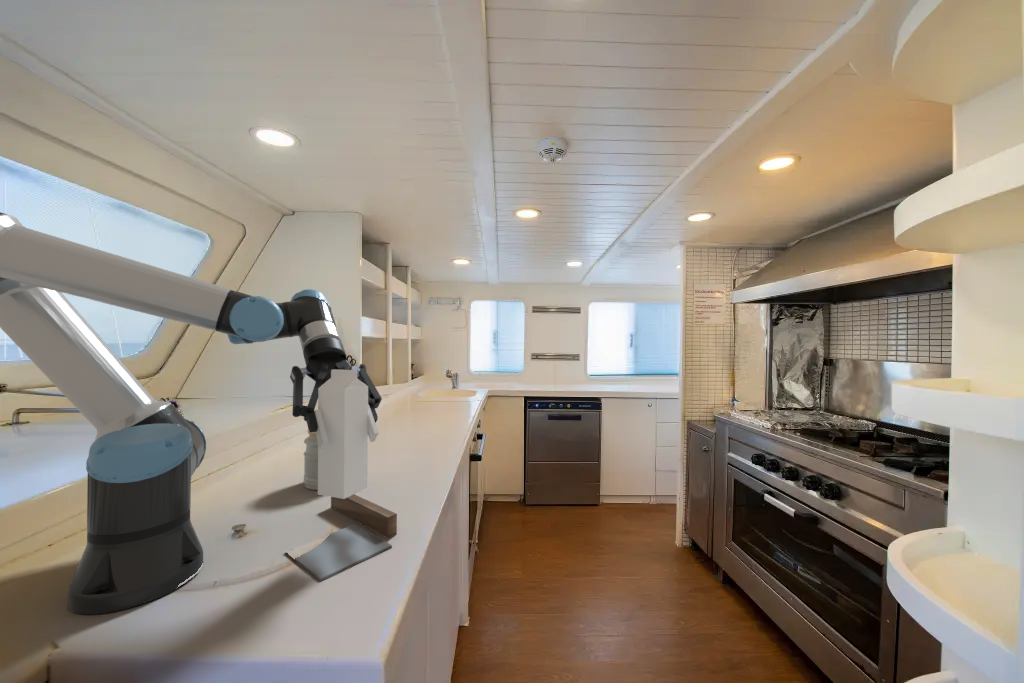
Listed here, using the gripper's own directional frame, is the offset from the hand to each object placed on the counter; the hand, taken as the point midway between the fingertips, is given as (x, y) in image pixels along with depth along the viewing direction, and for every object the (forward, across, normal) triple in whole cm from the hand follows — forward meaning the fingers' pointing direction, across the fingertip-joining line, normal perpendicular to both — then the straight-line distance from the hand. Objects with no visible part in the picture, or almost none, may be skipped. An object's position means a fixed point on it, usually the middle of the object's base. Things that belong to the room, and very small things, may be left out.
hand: (350, 441), depth 68 cm
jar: (-14, -9, -43) cm, 46 cm away
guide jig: (+7, 0, -21) cm, 22 cm away
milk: (+5, 0, -9) cm, 10 cm away
